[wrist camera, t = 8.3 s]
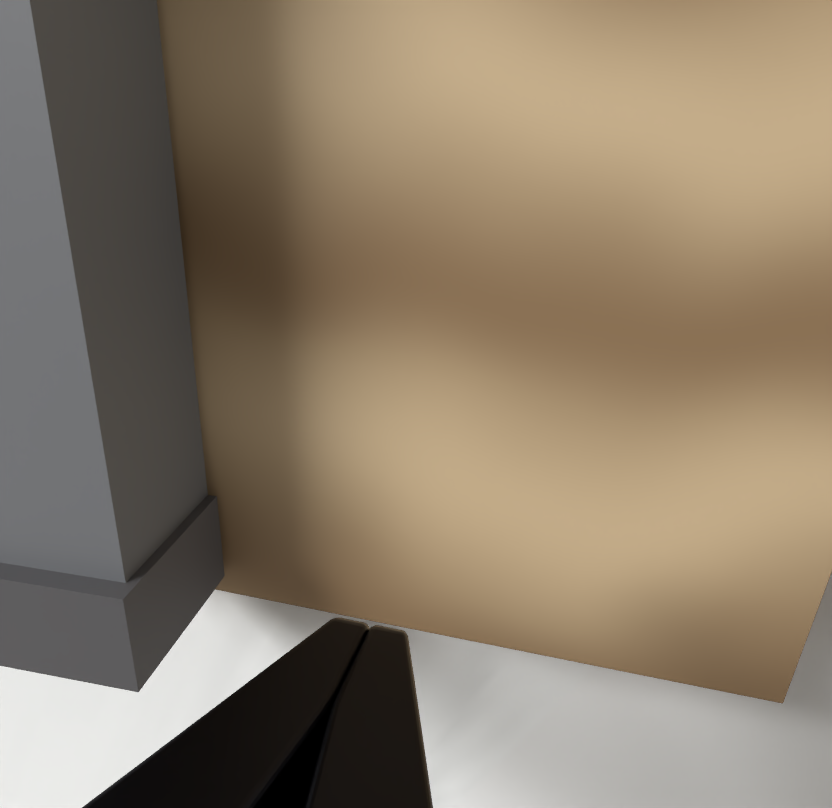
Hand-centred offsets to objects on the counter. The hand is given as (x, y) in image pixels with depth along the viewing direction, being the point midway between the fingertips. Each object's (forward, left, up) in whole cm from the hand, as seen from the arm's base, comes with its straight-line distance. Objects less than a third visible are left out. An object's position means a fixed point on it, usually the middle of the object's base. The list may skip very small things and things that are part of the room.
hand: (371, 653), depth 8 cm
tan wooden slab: (-3, -1, -8) cm, 9 cm away
